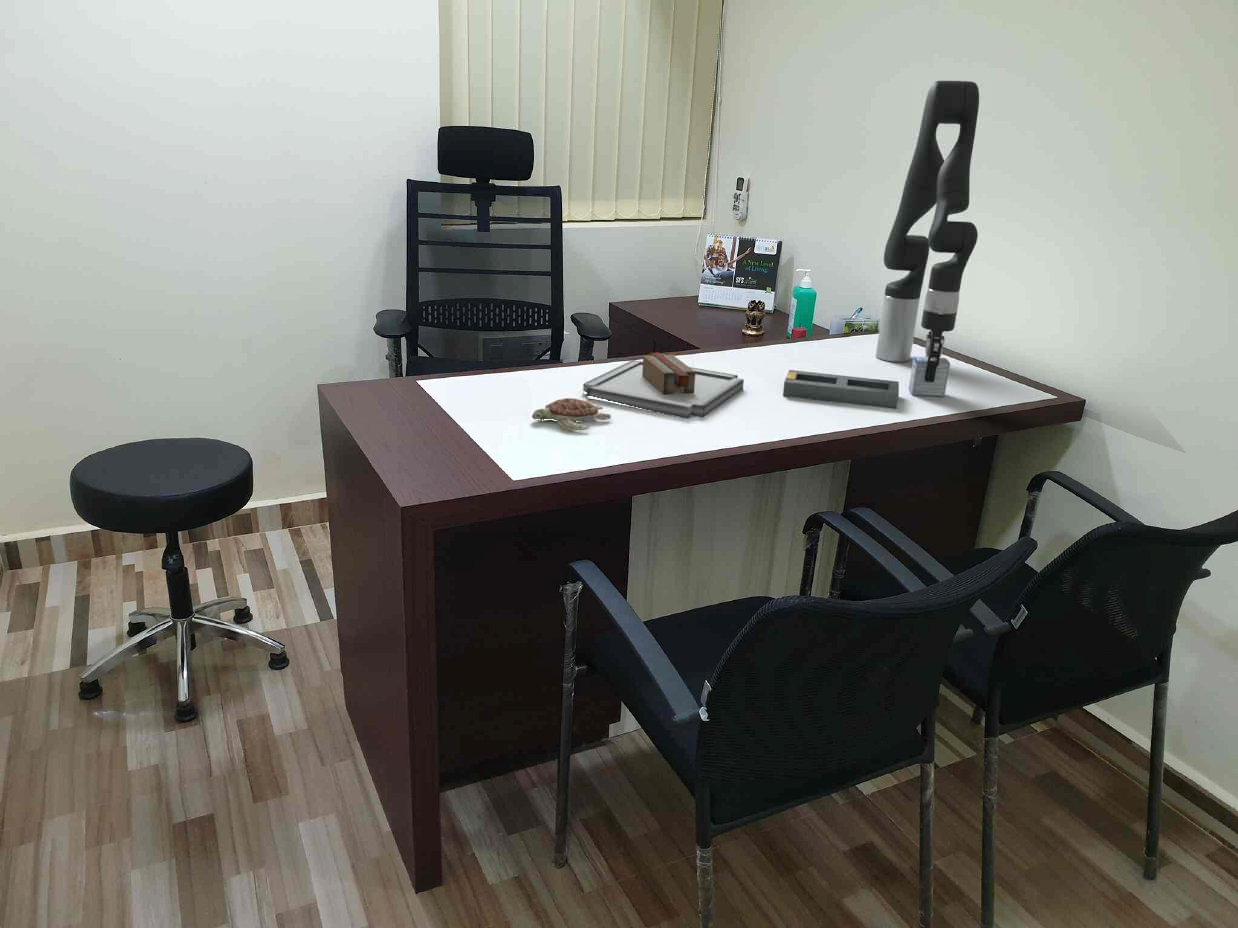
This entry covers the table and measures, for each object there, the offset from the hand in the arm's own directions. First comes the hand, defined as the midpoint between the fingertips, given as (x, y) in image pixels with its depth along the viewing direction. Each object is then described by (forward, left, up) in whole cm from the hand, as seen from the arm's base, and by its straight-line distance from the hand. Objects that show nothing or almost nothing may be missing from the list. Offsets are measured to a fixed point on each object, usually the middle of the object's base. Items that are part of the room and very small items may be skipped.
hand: (928, 378), depth 220 cm
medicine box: (0, 0, -4) cm, 4 cm away
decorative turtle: (+50, -74, -5) cm, 90 cm away
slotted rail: (+10, -20, -4) cm, 23 cm away
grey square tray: (+23, -60, -5) cm, 64 cm away
